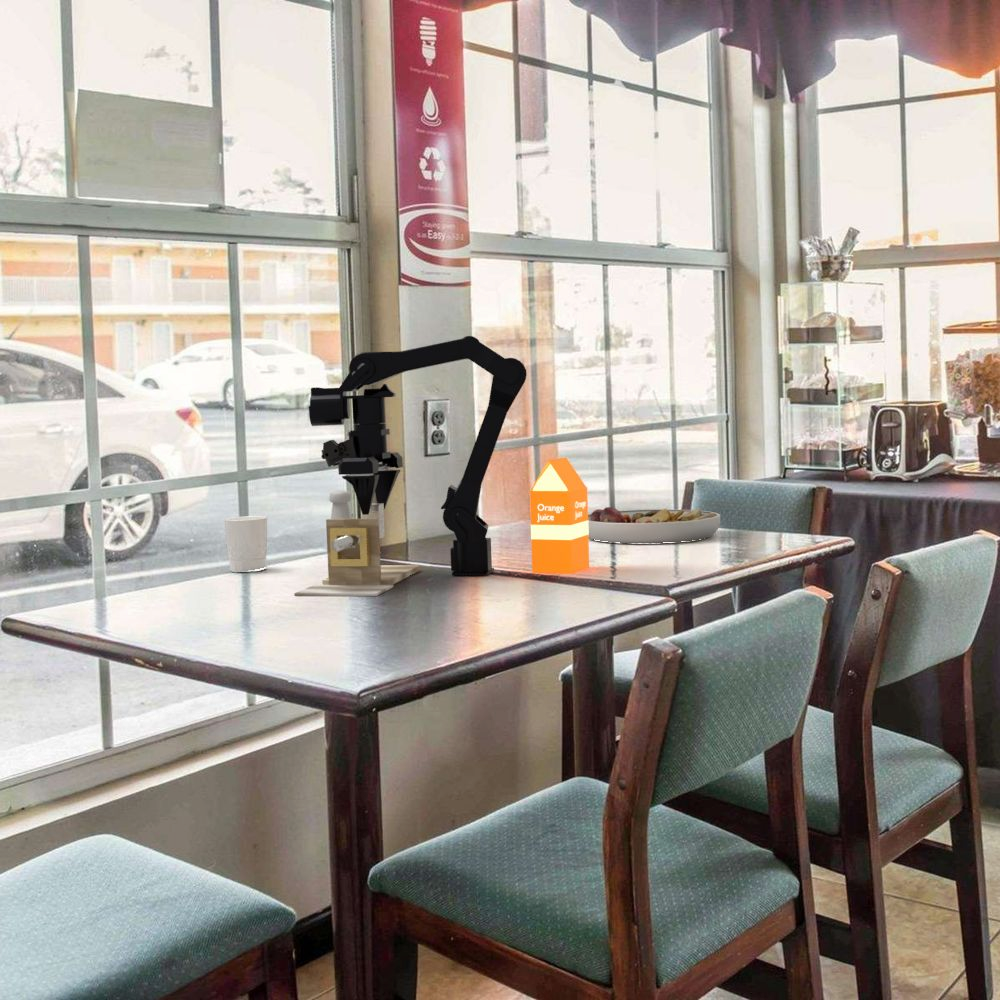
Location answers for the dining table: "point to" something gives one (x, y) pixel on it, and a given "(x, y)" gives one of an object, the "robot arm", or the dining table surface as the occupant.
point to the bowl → (651, 525)
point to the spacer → (364, 546)
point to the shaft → (352, 540)
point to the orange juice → (559, 520)
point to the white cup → (246, 542)
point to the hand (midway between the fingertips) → (373, 511)
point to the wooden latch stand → (359, 567)
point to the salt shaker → (340, 505)
